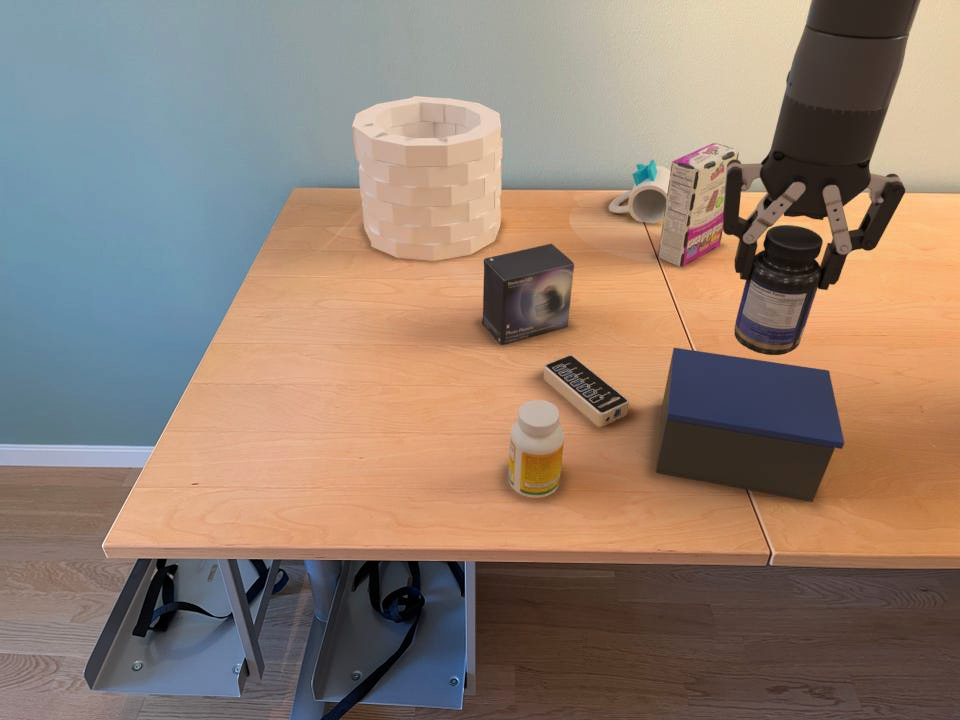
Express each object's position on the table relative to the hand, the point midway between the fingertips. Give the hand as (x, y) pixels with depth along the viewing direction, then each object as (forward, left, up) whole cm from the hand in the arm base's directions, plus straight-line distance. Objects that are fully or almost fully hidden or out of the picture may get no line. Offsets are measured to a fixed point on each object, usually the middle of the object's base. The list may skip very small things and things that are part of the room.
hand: (782, 280), depth 64 cm
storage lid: (0, 0, -14) cm, 14 cm away
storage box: (0, 0, -22) cm, 22 cm away
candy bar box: (+6, -46, -22) cm, 51 cm away
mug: (+15, -61, -22) cm, 67 cm away
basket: (+49, -44, -22) cm, 69 cm away
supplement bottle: (+20, +10, -22) cm, 31 cm away
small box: (+27, -18, -22) cm, 39 cm away
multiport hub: (+17, -5, -22) cm, 28 cm away
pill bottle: (0, 0, -7) cm, 7 cm away
